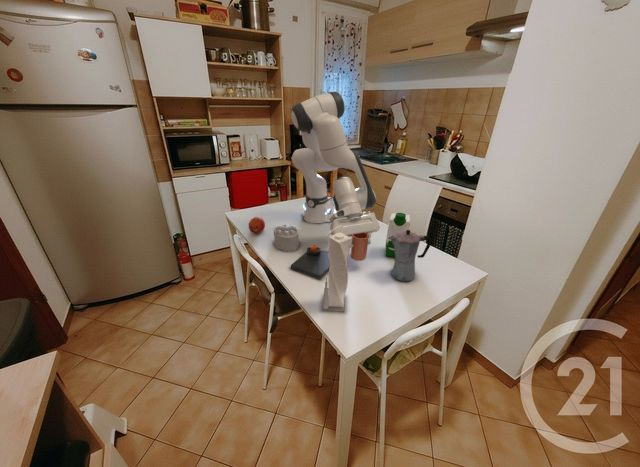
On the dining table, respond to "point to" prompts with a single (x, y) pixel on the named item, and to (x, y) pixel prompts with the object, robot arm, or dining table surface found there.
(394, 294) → the dining table surface
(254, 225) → the apple
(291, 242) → the lumpy-topped squat cylinder
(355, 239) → the cup
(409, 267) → the moka pot
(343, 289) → the skyscraper
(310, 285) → the dining table surface
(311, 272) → the dark grey flat block
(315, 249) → the button
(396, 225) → the milk carton
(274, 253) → the dining table surface
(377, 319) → the dining table surface
